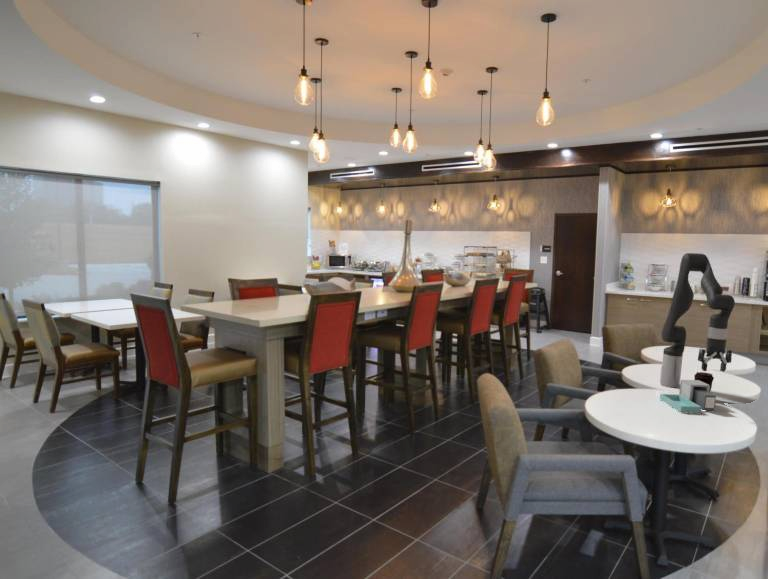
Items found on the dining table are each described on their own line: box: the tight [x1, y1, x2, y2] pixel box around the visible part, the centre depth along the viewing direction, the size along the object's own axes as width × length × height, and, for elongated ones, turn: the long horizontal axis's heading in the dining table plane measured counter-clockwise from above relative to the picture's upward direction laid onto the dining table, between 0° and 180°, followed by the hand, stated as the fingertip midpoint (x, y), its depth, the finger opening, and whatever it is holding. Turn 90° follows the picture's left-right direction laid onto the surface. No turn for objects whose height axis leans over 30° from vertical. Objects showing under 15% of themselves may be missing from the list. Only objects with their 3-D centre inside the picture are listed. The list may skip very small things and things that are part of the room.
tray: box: [659, 393, 702, 414], centre depth 245 cm, size 18×9×3 cm, turn 0°
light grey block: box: [678, 379, 711, 401], centre depth 250 cm, size 9×9×10 cm
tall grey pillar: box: [692, 387, 717, 412], centre depth 245 cm, size 13×5×8 cm, turn 0°
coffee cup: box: [694, 371, 715, 393], centre depth 258 cm, size 9×8×13 cm
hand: (713, 371), depth 239 cm, fingers open, 8 cm apart
